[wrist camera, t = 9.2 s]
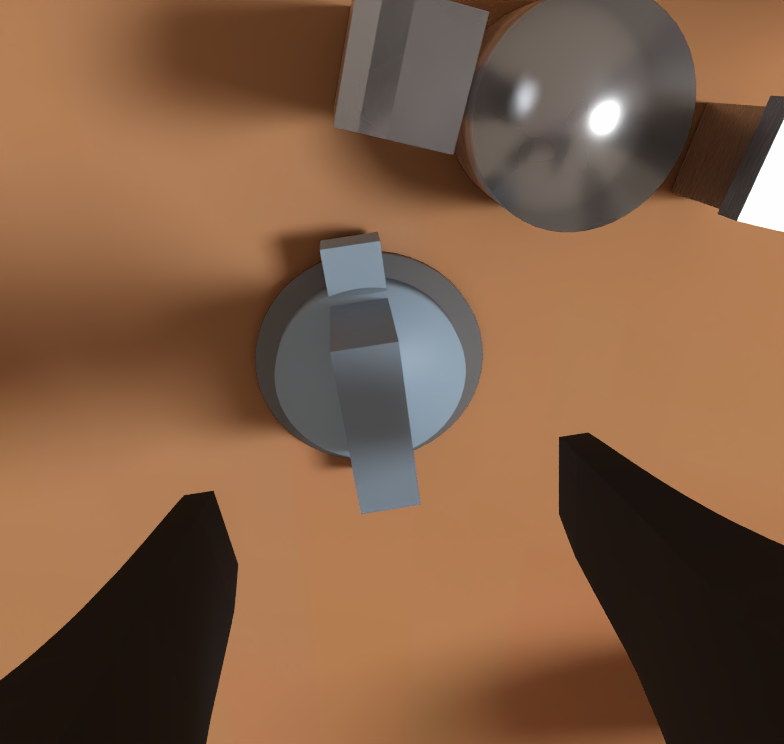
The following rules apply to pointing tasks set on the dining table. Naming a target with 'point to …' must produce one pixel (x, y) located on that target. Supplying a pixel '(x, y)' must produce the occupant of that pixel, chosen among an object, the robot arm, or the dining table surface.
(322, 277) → the pad
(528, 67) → the metal ball with blocks
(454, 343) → the cap
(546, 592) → the dining table surface
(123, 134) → the dining table surface
